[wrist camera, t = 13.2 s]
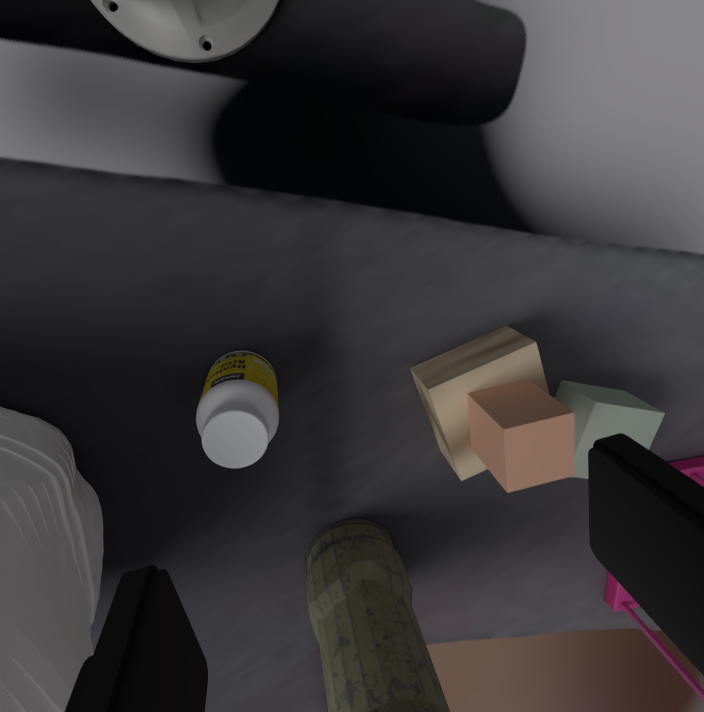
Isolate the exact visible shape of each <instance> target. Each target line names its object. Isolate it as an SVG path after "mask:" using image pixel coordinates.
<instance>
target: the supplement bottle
mask: <svg viewBox="0 0 704 712" xmlns="http://www.w3.org/2000/svg"><path fill="white" fill-rule="evenodd" d="M278 423H279V406H278V391H277V379H276V374H275V371H274V369H273V368H272V366H271V365H270V363H269V362H268V361H267V360H266V359H264V358H263V357H262V356H260V355H258V354H256V353H253V352H250V351H234V352H231V353H228V354H226V355H224V356H222V357H221V358H219V359H218V360H217V361H216V362H215V363H214V364H213V366H212V367H211V369H210V371H209V373H208V376H207V379H206V382H205V386H204V389H203V392H202V395H201V398H200V401H199V404H198V408H197V413H196V425H197V429H198V432H199V434H200V436H201V438H202V446H203V449H204V451H205V453H206V455H207V456H208V457H209V458H210V459H211V460H212V461H213V462H214V463H216V464H218V465H220V466H223V467H226V468H243V467H246V466H249V465H251V464H253V463H255V462H256V461H258V460H259V459H260V458H261V457H262V455H263V454H264V452H265V451H266V449H267V446H268V443H269V442H270V441H271V439H272V438H273V437H274V435H275V433H276V430H277V427H278Z"/></svg>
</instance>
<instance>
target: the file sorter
mask: <svg viewBox="0 0 704 712" xmlns="http://www.w3.org/2000/svg"><path fill="white" fill-rule="evenodd" d="M669 464H670V465H672V466H673V467H675V468H676V469H678V470H679V471H681V472H682V473H684V474H685V475H687V476H688V477H690V478H691V479H693V480H694V481H696V482H697V483H699V484H700V485H702V486H703V487H704V456H703V457H697V458H692V459H686V460H681V461H676V462H670V463H669ZM605 602H606V603H607V604H608V605H609V606H610V607H611V608H612V609H613V611H614V612H618V611H622V610H625V612H626V613H627V614H628V615H629V616H630V617H631V618H632V619H633V621H634V622H635V623H636V624H637V625H638V626H639V627H640V629H641V630H642V631H643V632H644V633H645V634H646V635H647V637H648V638H649V639H650V640H651V641H652V642H653V643H654V645H655V646H656V647H657V648H658V649H659V650H660V652H661V653H662V654H663V655H664V656H665V657H666V658H667V660H668V661H669V662H670V663H671V664H672V665H673V666H674V667H675V669H676V670H677V671H678V672H679V673H680V674H681V676H682V677H683V678H684V679H685V680H686V681H687V682H688V684H689V685H690V686H691V687H692V688H693V689H694V690H695V692H696V693H697V694H698V695H699V696H700V697H701V698H702V700H703V701H704V689H702V687H701V686H700V685H699V684H698V683H697V682H696V681H695V679H694V678H693V677H692V676H691V675H690V674H689V673H688V672H687V670H686V669H685V668H684V667H683V666H682V665H681V664H680V663H679V661H678V660H677V659H676V658H675V657H674V656H673V655H672V654H671V653H670V651H669V650H668V649H667V648H666V647H665V646H664V645H663V644H662V642H661V641H660V640H659V639H658V638H657V637H656V636H655V635H654V634H653V632H652V631H651V630H650V629H649V628H648V627H647V626H646V625H645V624H644V622H643V621H642V620H641V619H640V618H639V617H638V616H637V615H636V614H635V612H634V611H633V610H632V609H631V608H635V607H639V606H640V605H639V604H638V603H637V602H636V601H635V600H634V599H633V598H632V597H631V595H630V594H629V593H628V592H627V591H626V590H625V589H624V588H623V587H622V586H621V584H620V583H619V582H618V581H617V580H616V579H615V578H614V577H613V576H612V575H611V574H610V572H609V574H608V580H607V587H606V594H605Z"/></svg>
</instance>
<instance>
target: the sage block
mask: <svg viewBox="0 0 704 712" xmlns="http://www.w3.org/2000/svg"><path fill="white" fill-rule="evenodd" d="M555 399H556V400H558V401H559V402H561V403H562V404H563V405H565V406H566V407H568V408H569V409H570V410H572V411H573V412H575V433H574V476H571V477H576V478H585V479H588V451H589V449H591V448H593V444H594V442H595V441H596V440H597V439H601V438H604V437H608V436H611V435H615V434H618V433H623V434H625V435H627V436H629V437H630V438H632V439H633V440H635V441H636V442H638V443H639V444H641V445H642V446H644V447H645V448H647V449H648V450H649V448H650V446H651V444H652V441H653V439H654V437H655V435H656V433H657V430H658V428H659V426H660V424H661V421H662V419H663V417H664V415H665V413H664V412H662V411H660V410H659V409H657V408H655V407H653V406H651V405H650V404H648V403H646V402H644V401H642V400H641V399H639V398H637V397H635V396H633V395H632V394H630V393H628V392H626V391H623V390H617V389H611V388H605V387H599V386H593V385H588V384H582V383H576V382H570V381H564V380H561V382H560V385H559V388H558V390H557V393H556V396H555Z"/></svg>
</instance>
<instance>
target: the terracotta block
mask: <svg viewBox="0 0 704 712" xmlns="http://www.w3.org/2000/svg"><path fill="white" fill-rule="evenodd" d="M467 399H468V411H469V423H470V435H471V447H472V450H473V451H474V453H475V454H476V455H477V456H478V457H479V459H480V460H481V461H482V462H483V464H484V465H485V466H486V467H487V469H488V470H489V471H490V472H491V473H492V475H493V476H494V477H495V478H496V480H497V481H498V482H499V483H500V485H501V486H502V487H503V488H504V489H505V491H506V492H507V493H509V492H513V491H517V490H521V489H525V488H529V487H533V486H536V485H540V484H544V483H548V482H552V481H556V480H560V479H563V478H567V477H571V476H574V433H575V412H573V411H572V410H570V409H569V408H568V407H566V406H565V405H563V404H562V403H561V402H559V401H558V400H556V399H555V398H554V397H552V396H551V395H549V394H548V393H546V392H545V391H544V390H542V389H541V388H539V387H538V386H537V385H535V384H534V383H532V382H531V381H530V380H528V379H526V380H522V381H518V382H513V383H509V384H505V385H501V386H496V387H492V388H488V389H483V390H479V391H475V392H471V393H467Z"/></svg>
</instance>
